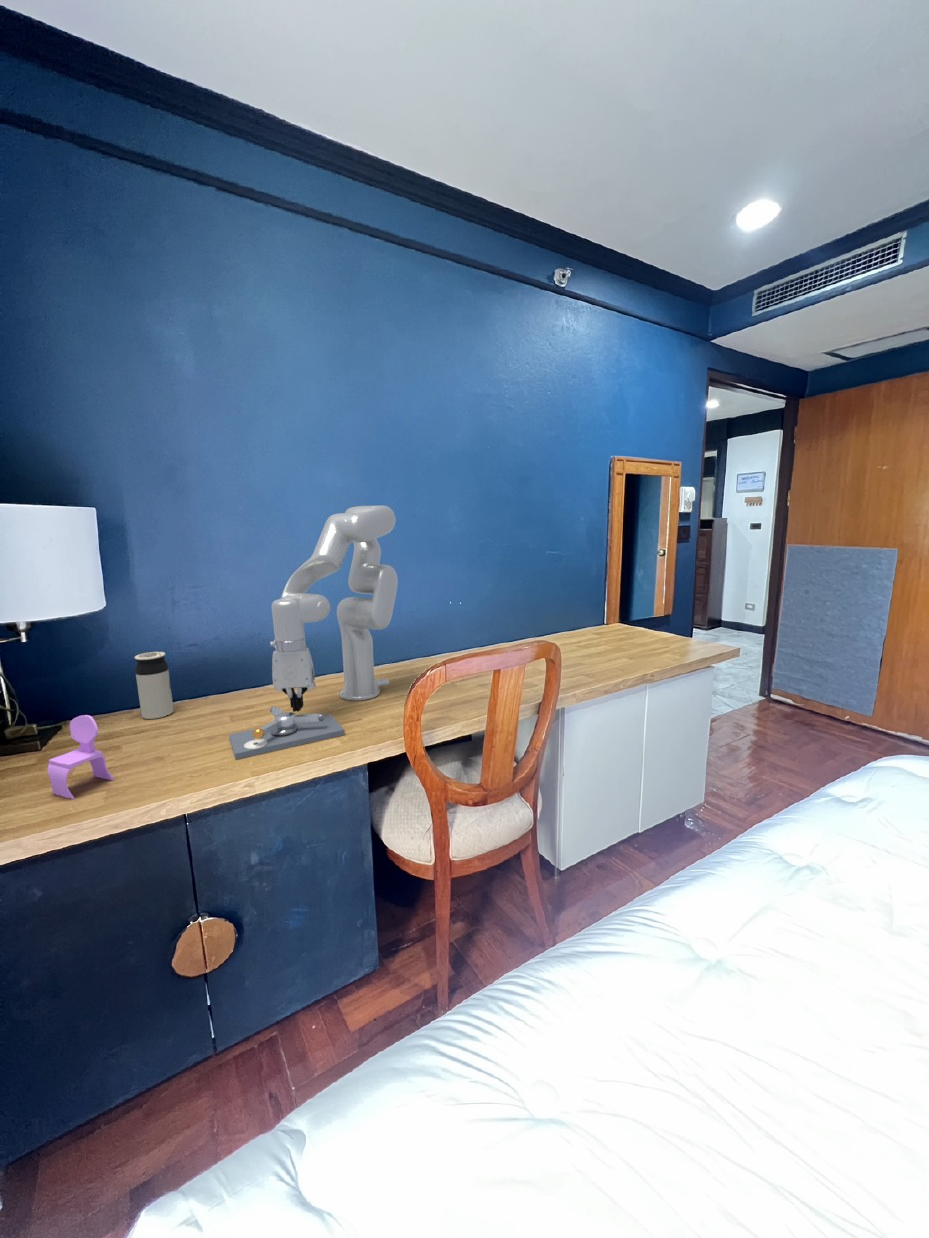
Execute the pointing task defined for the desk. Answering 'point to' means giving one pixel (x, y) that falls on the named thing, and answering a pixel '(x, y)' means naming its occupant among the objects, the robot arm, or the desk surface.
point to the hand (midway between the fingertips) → (297, 709)
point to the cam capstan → (285, 723)
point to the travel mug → (153, 685)
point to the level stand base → (284, 738)
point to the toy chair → (78, 756)
